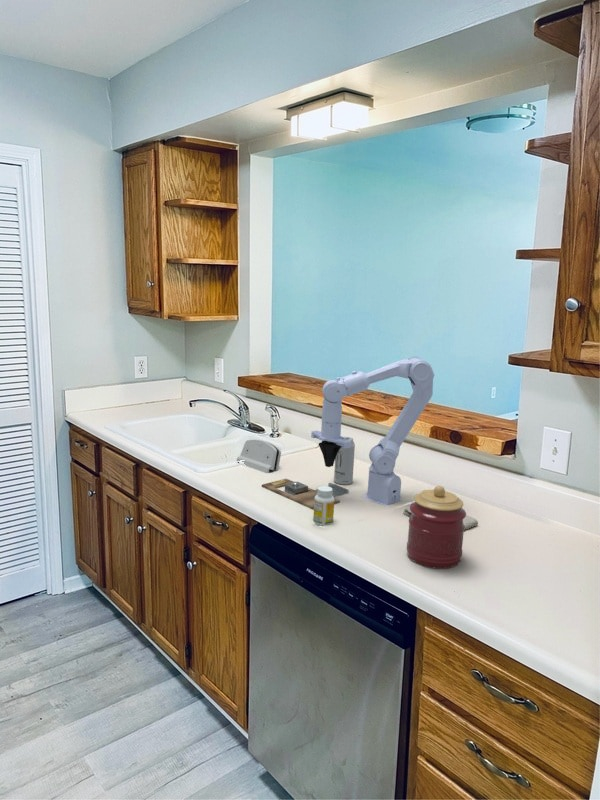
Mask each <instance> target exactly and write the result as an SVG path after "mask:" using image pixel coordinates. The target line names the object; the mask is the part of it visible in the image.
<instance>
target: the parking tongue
mask: <svg viewBox="0 0 600 800" xmlns="http://www.w3.org/2000/svg"><path fill="white" fill-rule="evenodd" d="M327 486H328V487H331V488H332V489H333V493H332V496H333V497H334V498H336V497H340V496H343V495H346V494H349V491H350V490H349V489H348V488H345V487H343V486H340V485H339V484H334V483H333V482H328V485H327ZM314 490H315V491H318V488H317V489H314Z"/></svg>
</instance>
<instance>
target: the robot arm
mask: <svg viewBox="0 0 600 800" xmlns="http://www.w3.org/2000/svg"><path fill="white" fill-rule="evenodd" d="M394 377H400V378H403V379H407V380H409V381H410V385H411V387H412V388H411V389H412V394H411V395H410V397H409V399H408V400H407V402H406V403H405V405H404V406H403V408H402V410H401V412H400V413H399V414H398V416H397V418H396V419H395V421H394V422H393V424H392V425H391V427H390V429H388V432H387V433H386V435H385V436H384V437H383V438H382V439H380V440H379V441H378V443H376V445H375V446H373V447H372V448H371V449H370V450H369V454H368V456H369V457H368V458H369V460H370V461H371V465H370V466H369V467H368V479H367V481H368V483H367V485H368V486H367V493H366V494H363V495H361V497H362V498H365V499H367V500H370V501H372V502H375V503H377V504H380V505H383V506H388V505H391V504H394V503H397V502H400V501H402V499H401V490H402V489H401V487H402V480H401V477H400V476H398V475H397V474H396V473H395V471H394V469H395V466H396V461H397V458H398V457H399V453H400V449H401V445H402V444H403V443H404V441H405V439H406V437H407V436H408V435H409V433H410V431H411V430H412V428H413V427H414V426H415V424H416V423H417V421H418V419H419V417H420V416H421V414H422V413H423V411H424V409H425V408H426V406H427V405H428V403H429V402H430V400H431V399H432V396H433V390H434V389H433V387H434V377H435V372H434V371H433V367H432V365H431V364H430V363H429V362H428V361H426V360H423V359H422V358H420V357H418V356H410V357H409V358H408V359H407V358H404V359H400V360H398V361H395V362H391V363H389V364H387V365H385V366H383V367H379V368H377V369H374V370H371V371H369V372H363V371H361V370H359V371H357V370H353V371H351V374H347V375H345V376H342V377H340V376H338V377H336V380H334V379H329V380H328V381H326V382H325V383H324V384H323V387H322V388H321V392H322V393H321V394H323V398H322V399H323V400H322V407H321V408H322V409H321V427H320V428H321V431H319V430H312V431H311V439H317V440H319V441H321V442H319V443H318V447H319V449H320V451H321V453H322V456H323V461H324V466H325V467H327V468H331V467H334V465H335V458H336V456H337V453H338V452H339V450H340V448H341V447H344V448H350V447H351V441H349V440H347V439H345V438H343V437H344V436H341V435H342V417H343V415H342V413H343V407H342V404H343V403H342V401H343V399H344V397H349V396H352V395H355V394H358V393H361V392H364V391H367V390H368V389H369V386H371V384H374V383H378V382H381V381H384V380H388V379H392V378H394Z"/></svg>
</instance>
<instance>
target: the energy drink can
mask: <svg viewBox="0 0 600 800" xmlns="http://www.w3.org/2000/svg"><path fill="white" fill-rule="evenodd" d="M342 437H343V438H345V439H347V440H349V441H351V447H350V448H344V447H341V448H340V450H339V452H338V453H337V456H336V458H335V461H334V472H333V473H334V474H333V475H334V476H333V482H334V483H336V485H343V486H347V485H351V484H352V483H353V481H354V480H353V479H354V467H355V466H354V465H355V464H354V463H355V449H356V448H355V447H356V444H355V442H354V438H353V437H349V436H342Z"/></svg>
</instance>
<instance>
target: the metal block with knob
mask: <svg viewBox="0 0 600 800" xmlns="http://www.w3.org/2000/svg"><path fill="white" fill-rule="evenodd" d="M308 488H309V485H307V484H305V483H302V482H300V481H293V482H292V483H289V484H285V486H284V492H286V493H288V494H290V495H292V496H294V495H298V494H301V493H305V492H308Z"/></svg>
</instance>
